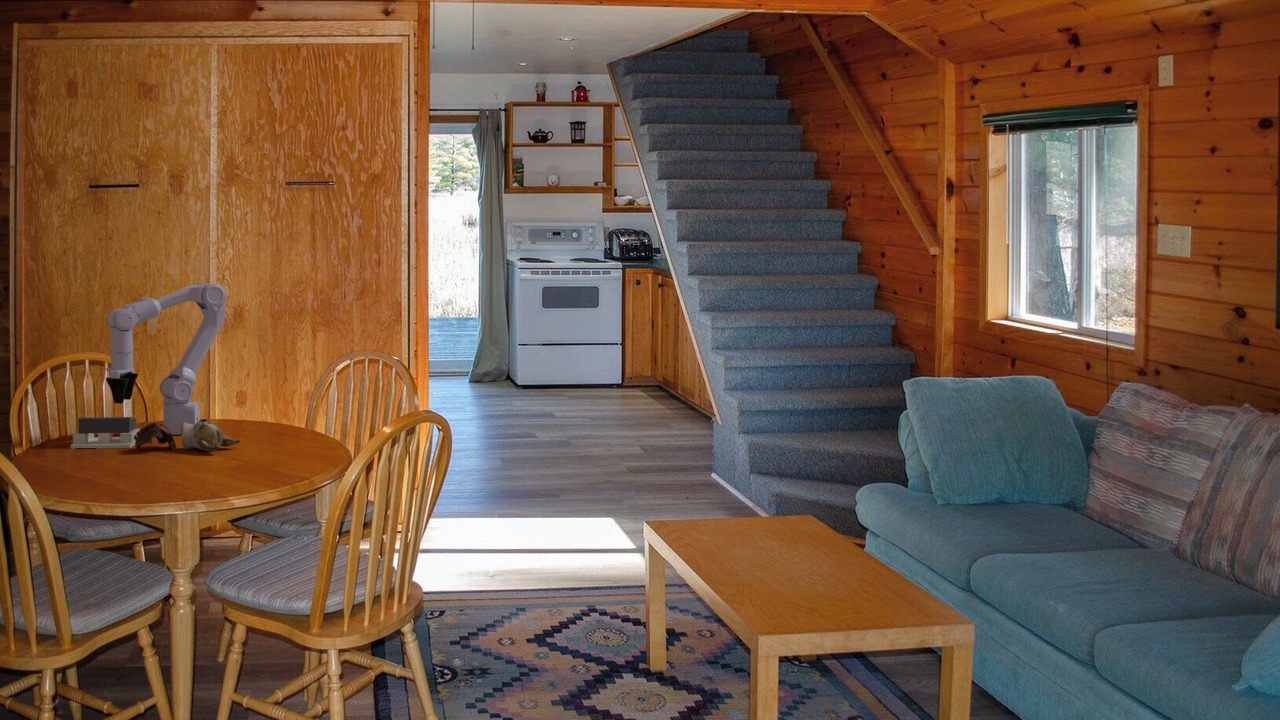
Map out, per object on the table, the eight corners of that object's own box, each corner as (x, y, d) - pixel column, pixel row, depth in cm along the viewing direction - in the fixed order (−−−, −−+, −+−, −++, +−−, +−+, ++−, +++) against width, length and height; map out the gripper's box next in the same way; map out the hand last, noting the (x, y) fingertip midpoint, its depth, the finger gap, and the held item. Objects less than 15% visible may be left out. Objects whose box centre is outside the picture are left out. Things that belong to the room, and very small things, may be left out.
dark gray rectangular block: (136, 428, 337) (136, 413, 337) (129, 432, 330) (129, 418, 330) (86, 428, 335) (86, 414, 335) (78, 433, 328) (78, 418, 328)
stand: (141, 440, 338) (140, 427, 338) (130, 448, 327) (129, 435, 327) (83, 441, 336) (83, 428, 336) (70, 448, 325) (70, 435, 325)
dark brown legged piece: (175, 454, 323) (157, 429, 319) (143, 469, 323) (125, 444, 320) (184, 434, 334) (167, 410, 330) (153, 449, 334) (136, 425, 331)
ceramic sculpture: (195, 412, 332) (242, 419, 328) (194, 444, 333) (242, 451, 329) (169, 419, 322) (217, 426, 318) (168, 451, 323) (216, 459, 319)
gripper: (114, 349, 345) (115, 397, 346) (98, 354, 330) (99, 405, 332) (140, 349, 345) (141, 397, 347) (126, 355, 331) (127, 405, 333)
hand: (122, 401), depth 339 cm, fingers open, 7 cm apart
